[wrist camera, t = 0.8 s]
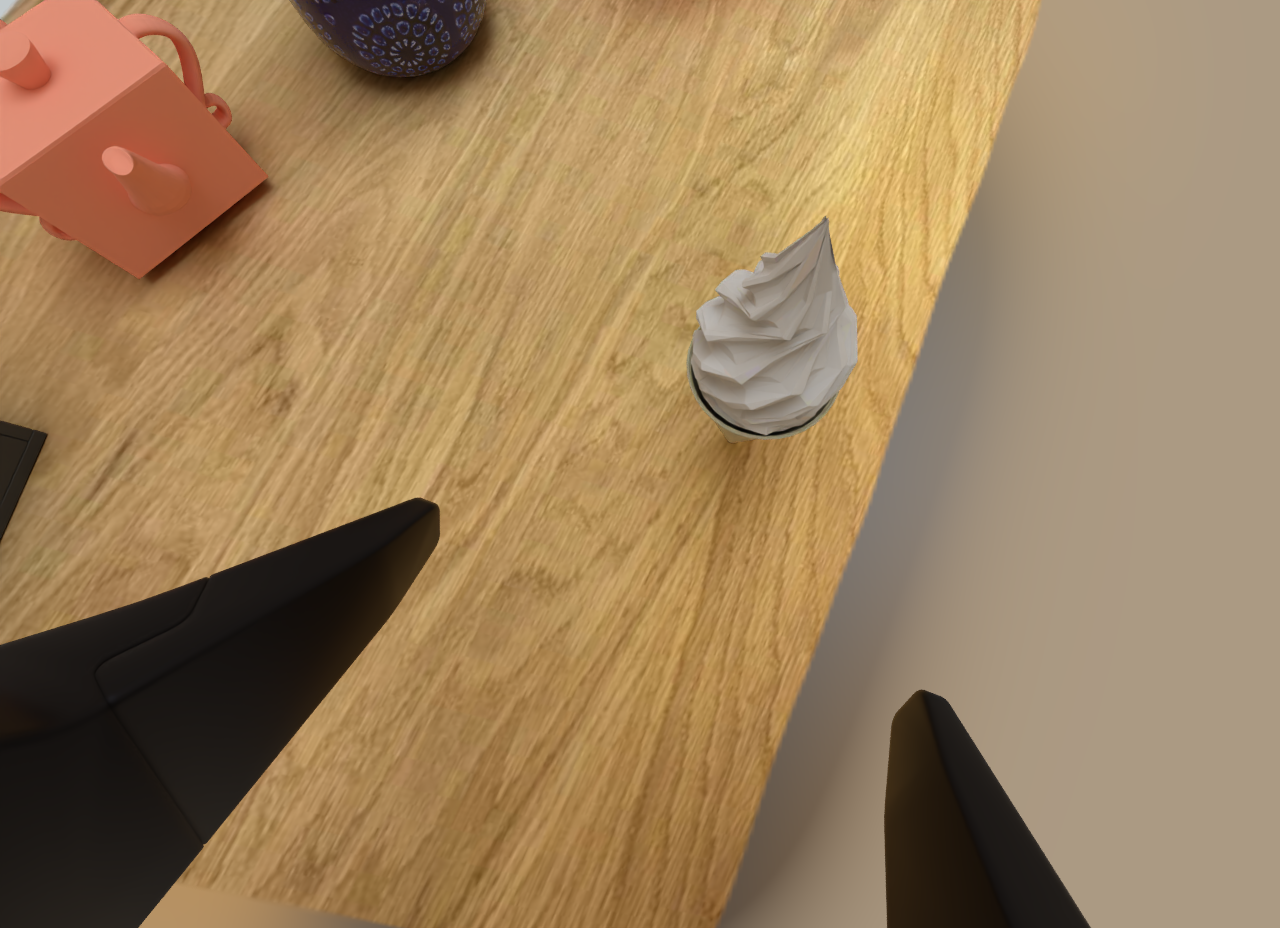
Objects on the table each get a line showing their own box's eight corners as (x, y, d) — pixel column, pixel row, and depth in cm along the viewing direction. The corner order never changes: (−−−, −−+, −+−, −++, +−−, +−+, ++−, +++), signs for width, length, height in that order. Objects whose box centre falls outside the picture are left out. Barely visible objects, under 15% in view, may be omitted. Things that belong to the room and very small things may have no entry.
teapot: (165, 356, 28) (-37, 254, 20) (13, 188, 31) (-219, 39, 23) (346, 206, 30) (229, 56, 22) (187, 60, 33) (31, -119, 24)
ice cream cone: (785, 388, 26) (942, 122, 12) (787, 493, 25) (964, 338, 11) (679, 385, 27) (705, 119, 12) (676, 488, 25) (700, 331, 11)
